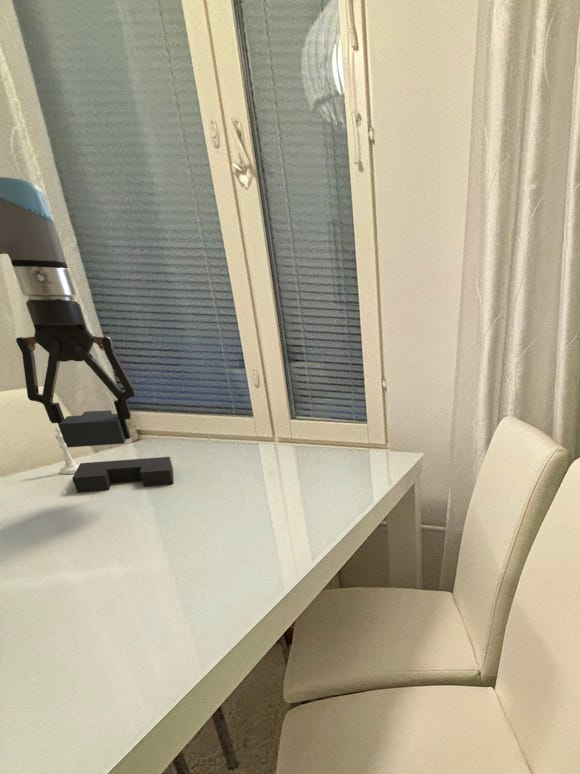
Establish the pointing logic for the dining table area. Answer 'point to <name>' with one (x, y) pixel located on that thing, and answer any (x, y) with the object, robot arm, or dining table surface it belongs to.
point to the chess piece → (65, 455)
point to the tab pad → (92, 429)
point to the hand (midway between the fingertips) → (98, 439)
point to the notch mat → (123, 473)
